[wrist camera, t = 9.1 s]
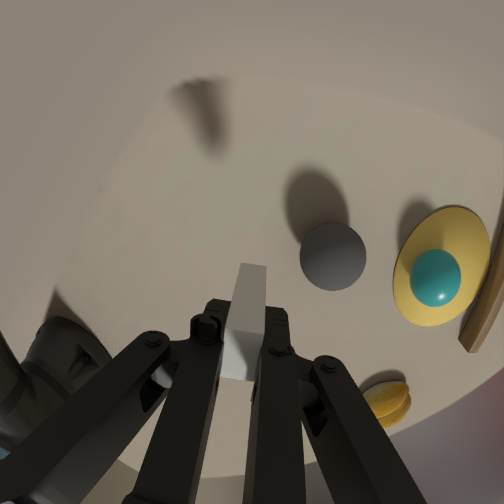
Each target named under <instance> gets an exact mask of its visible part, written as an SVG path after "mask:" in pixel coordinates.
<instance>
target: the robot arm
mask: <svg viewBox="0 0 504 504" xmlns="http://www.w3.org/2000/svg"><path fill="white" fill-rule="evenodd" d="M265 300H266V266H260V265H254V264H247V263H241V265H240V269H239V273H238V277H237V281H236V285H235V289H234V293H233V297H232V301H225V300H219V299H212V300H211V301H209V302H208V303H207V305H206V307H205V310H204V312H203V314H198V315H196V316H194V317H193V318H192V319H191V323H190V338H189V339H186V340H180V341H170V339H169V337H168V336H167V335H166V334H165V333H163V332H160V331H147V332H144V333H142V334H140V335H139V336H138V337H137V338H136V339H135V340H133V341H132V342H131V343H130V344H129V345H128V346H127V347H125V348H124V349H123V350H122V351H121V352H120V353H119V354H118V355H117V356H115V357H114V358H113V359H111V357H110V356H109V354H108V353H107V352H106V350H105V349H104V348H103V347H102V346H101V344H100V343H99V342H98V341H97V340H96V339H95V338H94V337H93V336H92V335H90V334H89V333H88V332H87V331H86V330H84V329H83V328H82V327H80V326H79V325H77V324H75V323H74V322H72V321H70V320H67V319H65V318H61V317H52V318H50V319H48V320H47V321H46V322H45V323H44V324H43V325H42V326H41V327H40V328H39V329H38V331H37V333H36V338H35V340H34V341H33V343H32V345H31V347H30V349H29V351H28V353H27V356H26V358H25V359H24V361H23V362H22V363H21V364H19V362H18V361H17V359H16V357H15V356H14V354H13V353H12V351H11V349H10V347H9V346H8V344H7V342H6V340H5V338H4V337H3V335H2V333H1V331H0V504H80V503H81V502H82V500H83V499H84V498H85V497H86V495H87V494H88V493H89V492H90V491H91V489H92V488H93V487H94V486H95V485H96V484H97V482H98V481H99V480H100V479H101V478H102V476H103V475H104V474H105V473H106V472H107V470H108V469H109V468H110V467H111V465H112V464H113V463H114V462H115V461H116V459H117V458H118V457H119V456H120V454H121V453H122V452H123V451H124V449H125V448H126V447H127V446H128V444H129V443H130V442H131V441H132V439H133V438H134V437H135V436H136V434H137V433H138V432H139V431H140V429H141V428H142V427H143V426H144V424H145V423H146V422H147V420H148V419H149V418H150V417H151V415H152V414H153V413H154V412H155V410H156V409H157V408H158V406H159V405H160V404H161V403H162V401H163V400H164V399H165V397H166V396H167V397H166V400H165V403H164V405H163V408H162V411H161V413H160V416H159V419H158V421H157V424H156V427H155V430H154V432H153V435H152V438H151V441H150V443H149V446H148V449H147V452H146V455H145V457H144V460H143V463H142V466H141V469H140V472H139V475H138V478H137V481H136V483H135V486H134V489H133V491H132V492H131V493H130V494H128V495H126V497H125V498H124V499H123V501H122V504H195V500H196V495H197V490H198V485H199V480H200V475H201V470H202V465H203V460H204V455H205V450H206V445H207V440H208V435H209V430H210V426H211V421H212V416H213V411H214V406H215V401H216V396H217V391H218V387H219V378H220V377H225V378H231V379H238V380H245V381H253V382H254V380H255V383H254V387H253V391H252V396H251V400H250V401H252V404H251V416H250V428H249V439H248V450H247V461H246V471H245V482H244V492H243V502H242V504H306V489H305V488H306V487H305V469H304V452H303V437H302V423H303V425H304V428H305V430H306V433H307V436H308V438H309V441H310V443H311V446H312V448H313V451H314V453H315V456H316V458H317V461H318V463H319V466H320V468H321V471H322V474H323V476H324V478H325V481H326V484H327V486H328V488H329V491H330V493H331V496H332V498H333V501H334V503H335V504H427V503H426V501H425V499H424V498H423V496H422V494H421V492H420V490H419V489H418V487H417V485H416V484H415V482H414V480H413V478H412V476H411V475H410V473H409V471H408V470H407V468H406V466H405V465H404V463H403V461H402V459H401V458H400V456H399V455H398V453H397V451H396V449H395V448H394V446H393V444H392V443H391V441H390V439H389V438H388V436H387V434H386V433H385V431H384V429H383V428H382V426H381V424H380V423H379V421H378V419H377V418H376V416H375V414H374V413H373V411H372V409H371V408H370V406H369V404H368V403H367V401H366V400H365V398H364V396H363V395H362V393H361V391H360V390H359V388H358V387H357V385H356V383H355V382H354V380H353V379H352V377H351V375H350V374H349V372H348V370H347V369H346V367H345V366H344V364H343V363H342V362H341V361H340V360H339V359H337V358H335V357H332V356H328V355H322V356H318V357H317V358H315V359H314V361H311V360H307V359H305V358H302V357H300V356H298V355H297V354H296V353H295V350H294V348H293V347H292V346H291V343H290V332H289V322H288V314H287V313H286V311H285V310H284V309H283V308H277V307H270V306H265ZM301 420H302V423H301Z"/></svg>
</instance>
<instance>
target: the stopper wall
mask: <svg viewBox="0 0 504 504" xmlns="http://www.w3.org/2000/svg"><path fill="white" fill-rule="evenodd" d="M503 301H504V225H503V228H502V232H501V236H500V239H499V243H498V246H497V249H496V253H495V256H494V259H493V262H492V265H491V267H490V270H489V273H488V276H487V278H486V281H485V284H484V286H483V289H482V291H481V293H480V296H479V298H478V300H477V303H476V305H475V307H474V309H473V312H472V314H471V316H470V318H469V320H468V322H467V324H466V326H465V328H464V330H463V332H462V334H461V336H460V338H459V339H458V340H459V341H460V343H461V344H462V345H463V347H464V348H465V350H466V351H467V352H468V353H477V352H478V350H479V349H480V347H481V345H482V343H483V342H484V340H485V338H486V336H487V334H488V332H489V330H490V329H491V327H492V325H493V323H494V321H495V319H496V317H497V314H498V312H499V310H500V308H501V306H502V304H503Z"/></svg>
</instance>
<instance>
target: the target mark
mask: <svg viewBox="0 0 504 504" xmlns="http://www.w3.org/2000/svg"><path fill="white" fill-rule="evenodd" d="M431 249H442V250H445V251H447V252H449V253H450V254H451V255H453V256H454V258H455V259H456V260H457V262H458V264H459V266H460V270H461V284H460V288H459V290H458V292H457V294H456V296H455V297H454V298H453V299H452V300H451V301H450V302H449V303H447V304H445V305H443V306H440V307H429V306H426V305H424V304H422V303H420V302H419V301H418V300H417V299H416V298H415V296H414V295H413V293H412V291H411V288H410V283H409V275H410V270H411V267H412V265H413V263H414V261H415V260H416V259H417V257H418V256H419V255H421V254H422V253H423V252H425V251H427V250H431ZM489 261H490V242H489V237H488V233H487V230H486V228H485V226H484V224H483V223H482V221H481V220H480V219H479V218H478V217H477V216H476V215H475V214H474V213H472V212H471V211H469V210H467V209H464V208H460V207H450V208H445V209H442V210H439V211H437V212H435V213H433V214H431V215H430V216H428V217H427V218H426V219H425V220H423V221H422V222H421V223H420V224H419V225H418V226H417V227H416V228H415V229H414V231H413V232H412V233H411V235H410V236H409V237H408V239H407V241H406V242H405V244H404V246H403V248H402V250H401V252H400V254H399V257H398V260H397V263H396V267H395V271H394V277H393V293H394V298H395V302H396V304H397V307H398V309H399V310H400V312H401V314H402V315H403V316H404V317H405V318H406V319H407V320H409V321H410V322H412V323H414V324H416V325H419V326H436V325H440V324H443V323H445V322H448V321H450V320H451V319H453V318H455V317H456V316H458V315H459V314H460V313H461V312H463V311H464V310H465V309H466V308H467V307H468V306H469V305H470V303H471V302H472V301H473V300H474V298H475V297H476V295H477V294H478V292H479V291H480V289H481V287H482V285H483V282H484V280H485V278H486V275H487V271H488V267H489Z"/></svg>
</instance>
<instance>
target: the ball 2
mask: <svg viewBox="0 0 504 504" xmlns="http://www.w3.org/2000/svg"><path fill="white" fill-rule="evenodd" d="M409 283H410V288H411V291H412V293H413V295H414V296H415V298H416V299H417V300H418V301H419V302H420V303H422V304H424V305H426V306H429V307H440V306H443V305H445V304H447V303H449V302H450V301H451V300H452V299H453V298H454V297H455V296H456V294H457V292H458V290H459V288H460V284H461V270H460V266H459V264H458V262H457V260H456V259H455V258H454V256H453V255H451V254H450V253H449V252H447V251H445V250H442V249H431V250H427V251H425V252H423V253H422V254H421V255H419V256H418V257H417V259H416V260H415V261H414V263H413V265H412V267H411V270H410V275H409Z"/></svg>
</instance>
